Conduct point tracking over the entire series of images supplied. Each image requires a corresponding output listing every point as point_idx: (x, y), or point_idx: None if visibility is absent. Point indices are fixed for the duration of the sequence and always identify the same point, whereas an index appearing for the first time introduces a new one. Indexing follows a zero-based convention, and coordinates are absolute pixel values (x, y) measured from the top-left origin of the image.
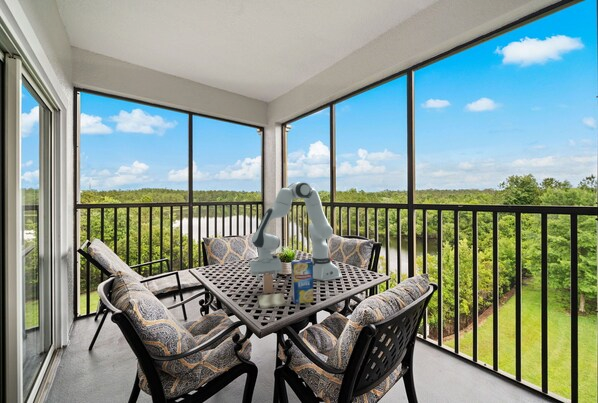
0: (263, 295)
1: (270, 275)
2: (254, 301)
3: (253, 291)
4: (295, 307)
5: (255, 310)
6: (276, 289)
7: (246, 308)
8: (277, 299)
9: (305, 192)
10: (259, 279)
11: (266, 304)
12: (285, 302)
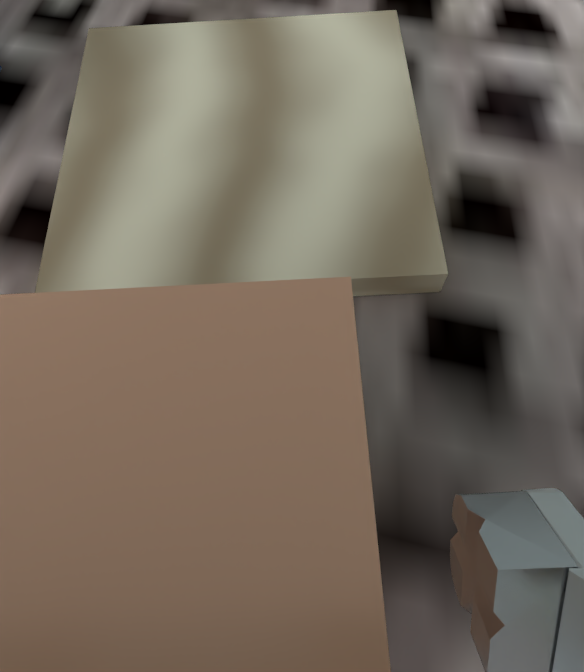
0: (349, 269)
1: (10, 450)
2: (479, 196)
3: None
4: (27, 10)
5: (442, 14)
6: None
7: (552, 59)
8: (162, 117)
9: None
10: (515, 493)
11: (321, 35)
12: (92, 41)
